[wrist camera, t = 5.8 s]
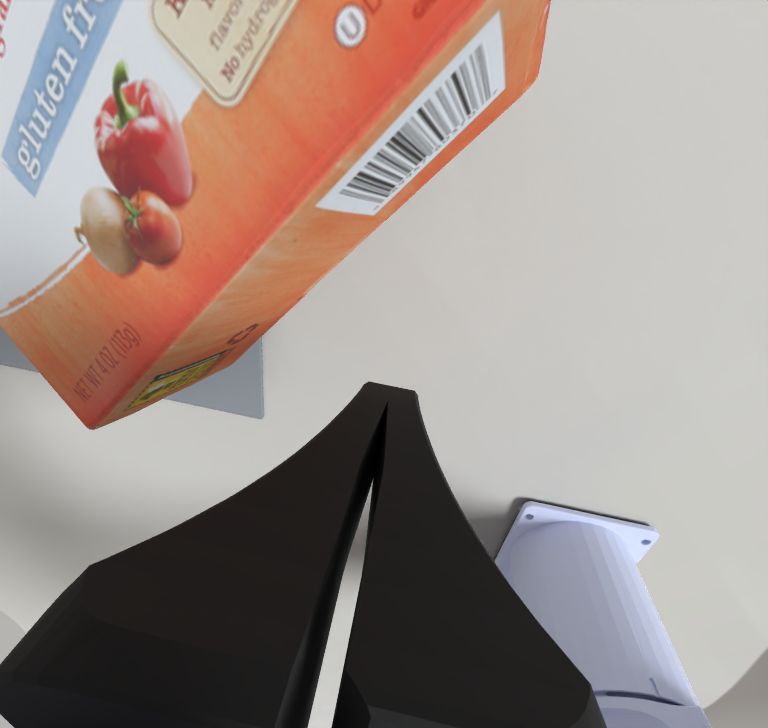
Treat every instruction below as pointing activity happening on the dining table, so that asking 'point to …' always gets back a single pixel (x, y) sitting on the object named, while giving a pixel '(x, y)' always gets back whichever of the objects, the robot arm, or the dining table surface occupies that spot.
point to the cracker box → (218, 165)
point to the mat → (219, 391)
